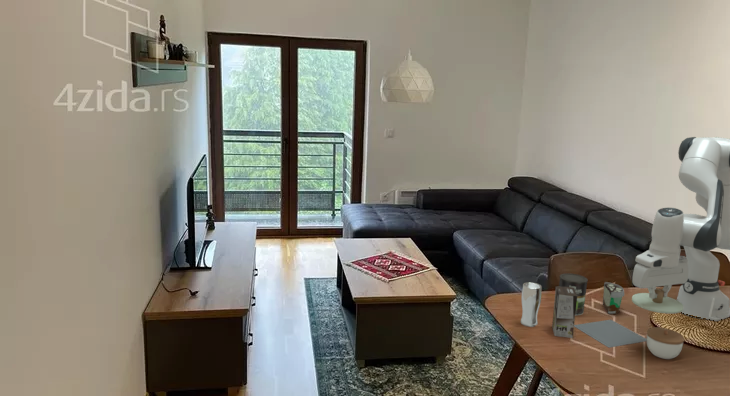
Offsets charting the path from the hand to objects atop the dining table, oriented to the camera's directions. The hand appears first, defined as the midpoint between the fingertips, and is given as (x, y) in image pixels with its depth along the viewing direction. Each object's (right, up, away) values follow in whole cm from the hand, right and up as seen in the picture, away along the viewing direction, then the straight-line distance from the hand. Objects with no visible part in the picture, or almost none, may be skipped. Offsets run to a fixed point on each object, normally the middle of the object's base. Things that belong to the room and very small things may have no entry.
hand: (657, 297), depth 175 cm
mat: (-9, -16, +16) cm, 24 cm away
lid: (0, -2, +1) cm, 2 cm away
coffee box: (-26, -16, +16) cm, 34 cm away
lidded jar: (+2, -20, +1) cm, 20 cm away
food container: (+2, -12, +36) cm, 38 cm away
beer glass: (-36, -14, +23) cm, 45 cm away
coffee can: (-15, -12, +35) cm, 40 cm away
